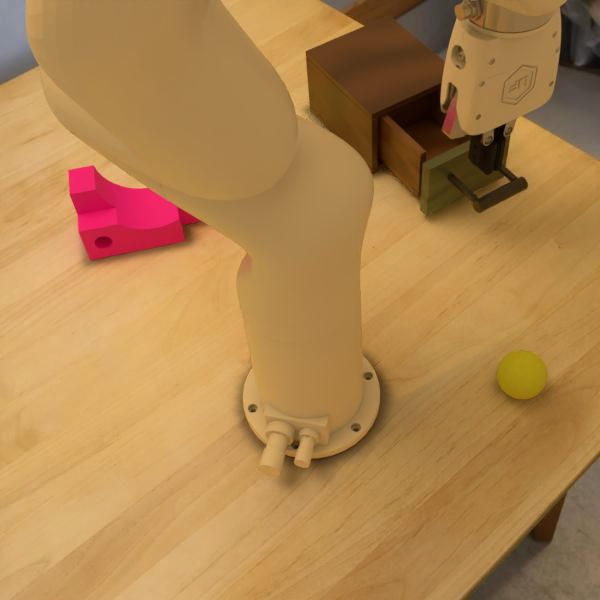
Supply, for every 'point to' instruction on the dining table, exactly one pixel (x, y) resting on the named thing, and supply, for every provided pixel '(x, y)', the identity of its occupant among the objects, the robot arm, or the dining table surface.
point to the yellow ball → (522, 374)
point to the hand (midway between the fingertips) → (484, 164)
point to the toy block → (122, 215)
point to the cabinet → (369, 81)
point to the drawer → (437, 158)
